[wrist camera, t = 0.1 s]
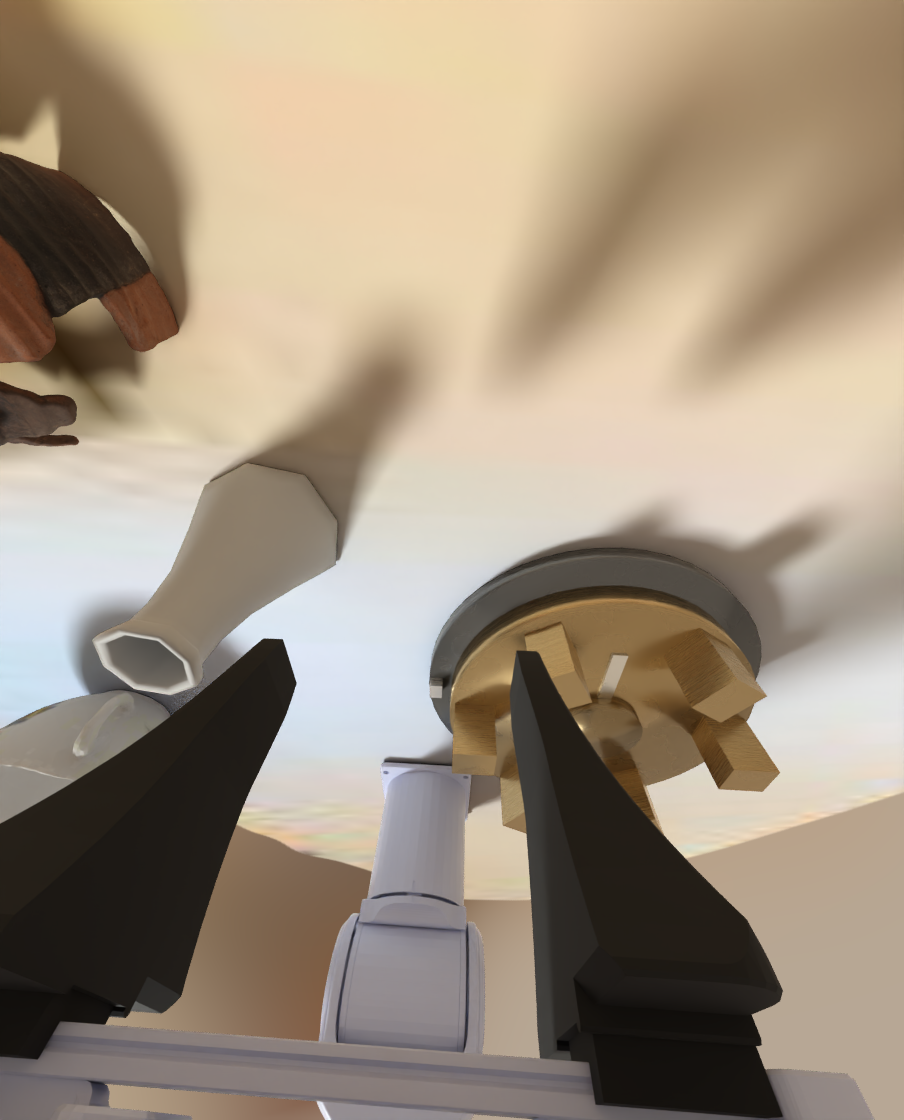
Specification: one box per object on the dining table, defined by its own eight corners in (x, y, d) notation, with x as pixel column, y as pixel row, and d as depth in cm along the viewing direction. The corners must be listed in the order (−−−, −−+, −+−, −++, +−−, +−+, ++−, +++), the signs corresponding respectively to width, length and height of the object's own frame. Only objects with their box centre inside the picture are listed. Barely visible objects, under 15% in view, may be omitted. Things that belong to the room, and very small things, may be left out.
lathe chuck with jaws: (676, 773, 30) (711, 851, 26) (448, 760, 30) (444, 834, 26) (793, 593, 20) (882, 670, 16) (454, 578, 21) (449, 649, 16)
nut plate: (681, 767, 32) (692, 790, 30) (431, 752, 32) (429, 775, 31) (818, 556, 20) (847, 576, 19) (429, 539, 21) (425, 558, 19)
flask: (318, 453, 19) (193, 567, 10) (355, 573, 23) (286, 727, 14) (183, 468, 19) (-36, 585, 11) (242, 581, 23) (112, 732, 15)
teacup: (194, 769, 36) (130, 874, 29) (46, 718, 32) (-65, 823, 26) (247, 688, 29) (178, 801, 22) (66, 611, 25) (-80, 718, 19)
